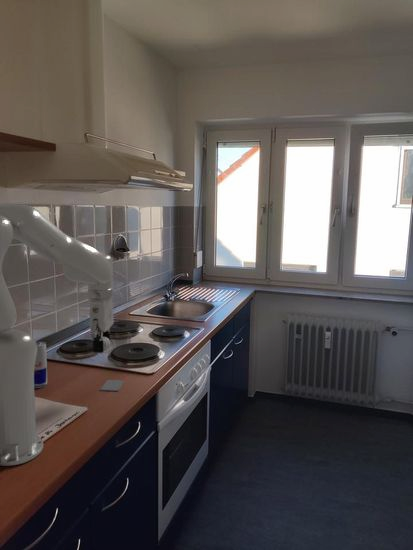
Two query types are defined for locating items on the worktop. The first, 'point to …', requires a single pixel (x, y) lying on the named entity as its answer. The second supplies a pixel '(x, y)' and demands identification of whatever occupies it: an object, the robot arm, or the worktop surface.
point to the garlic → (106, 343)
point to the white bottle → (40, 366)
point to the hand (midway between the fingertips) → (101, 348)
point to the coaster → (112, 385)
